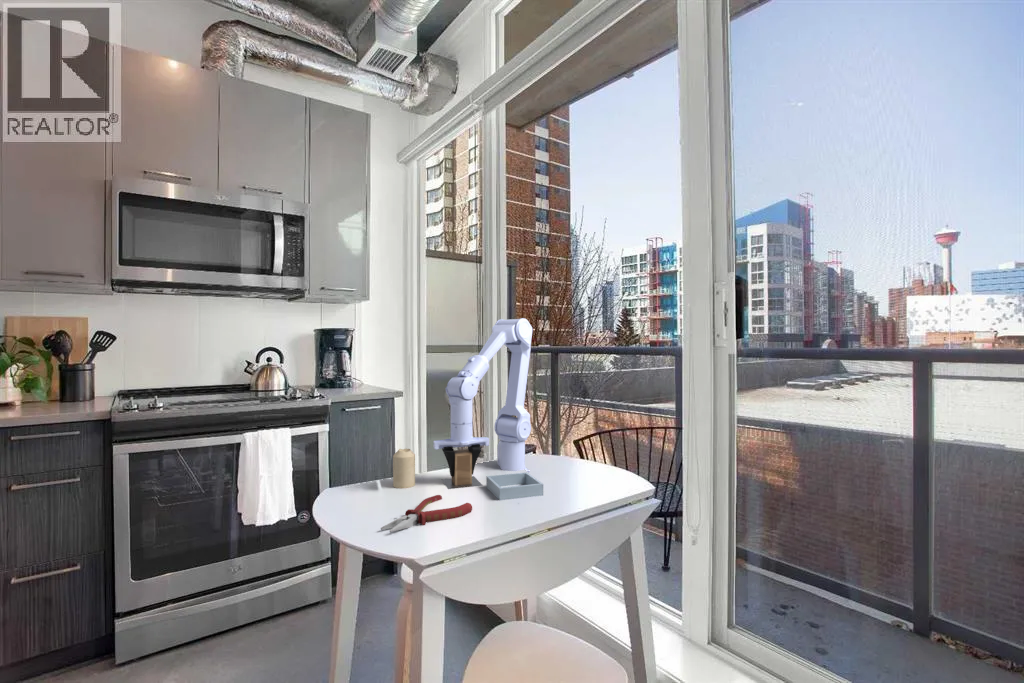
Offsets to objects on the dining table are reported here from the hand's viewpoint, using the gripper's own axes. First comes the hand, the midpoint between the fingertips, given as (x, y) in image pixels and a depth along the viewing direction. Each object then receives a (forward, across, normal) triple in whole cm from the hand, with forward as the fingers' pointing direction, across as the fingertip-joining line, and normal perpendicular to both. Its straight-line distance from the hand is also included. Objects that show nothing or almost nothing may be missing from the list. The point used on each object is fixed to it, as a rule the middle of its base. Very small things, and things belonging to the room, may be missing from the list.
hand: (461, 474), depth 130 cm
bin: (+3, +10, -12) cm, 16 cm away
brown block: (+2, 0, 0) cm, 2 cm away
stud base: (+3, 0, 0) cm, 3 cm away
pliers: (+4, -13, -19) cm, 23 cm away
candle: (+3, -14, +2) cm, 15 cm away
